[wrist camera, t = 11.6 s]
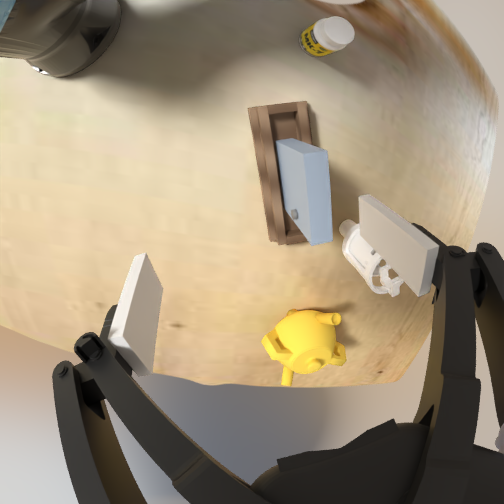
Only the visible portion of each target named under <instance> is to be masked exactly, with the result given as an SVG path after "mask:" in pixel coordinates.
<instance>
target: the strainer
mask: <svg viewBox="0 0 504 504" xmlns="http://www.w3.org/2000/svg"><path fill="white" fill-rule="evenodd" d="M339 232H340V234H341V235H342V236H343V237H344V240H343V244H342V251H343V254H344V256H345V258H346V259H347V260H348V261H349V262H350V263H351V264H352V265H353V266H354V267H355V268H356V270H357V271H358V272H359V273H360V275H361V276H362V277H363V278H364V279H365V281H366V283H367V285H368V286H369V287H370V288H371V290H372V291H373V292H375V293H377V294H386V293H389V294H390V295H391V296H392V297H394V296H396V295H398V294H399V292H400V285H401V284H402V283H403V282H404V281H403V280H402V278H401V277H400V276H398V277H396V278H394V279H392V280H391V279H390V278H389V275H388V270H389V269H392V268H391V267H390V265H389V264H388V263H387V262H386V265H385V266H383V267H381V266H380V265H379V264H380V261H381V260H383V258H382V257H381V256H380V255H379V254H378V253H377V252H376V251H375V250H374V249H373V248H372V247H371V246H370V245H369V244H368V243H367V242H366V241H365V240H364V239H363V238H362V237H361V236H360V223H358V224H356V223H355V222H354V221H352V220H350V219H347V220H345V221H343V222H342V223H341V225H340V227H339ZM379 275H380V283H381V284H382V286H380V287H378V286H374V285H373V283H372V277H376V276H379Z"/></svg>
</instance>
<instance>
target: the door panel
mask: <svg viewBox="0 0 504 504" xmlns="http://www.w3.org/2000/svg"><path fill="white" fill-rule="evenodd" d="M275 146H276V153H277V160H278V167H279V174H280V181H281V189H282V196H283V204H284V209H285V210H286V211H287V213H288V214H289V216H290V217H291V218H292V220H293V221H294V222H295V224H296V225H297V226H298V228H299V229H300V230H301V232H302V233H303V235H304V236H305V237H306V239H307V240H308V241H309V243H310V244H311V246H313V245H317V244H322V243H326V242H331V241H333V235H332V209H331V191H330V176H329V164H328V153H327V150H324V149H321V148H319V147H316V146H313V145H310V144H308V143H305V142H302V141H299V140H296V139H293V138H290V139H283V140H276V141H275Z"/></svg>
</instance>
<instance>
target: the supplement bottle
mask: <svg viewBox="0 0 504 504" xmlns="http://www.w3.org/2000/svg"><path fill="white" fill-rule="evenodd" d="M354 36H355V32H354V28H353V26H352V25H351V24H350V23H349V22H348V21H347V20H346V19H344V18H342V17H339V16H332V17H329V18H324V19H320V20H319V21H317V22H316V23H314V24H313V25H311V26H310V27H308V28H307V29H305V30H304V31H303V32H302V33H301V35H300V37H299V43H300V46H301V48H302V49H303V50H304V51H305V52H306V53H307V54H309V55H311V56H314V57H321V56H325V55H327V54H330V53H333V52H336V51H339V50H341V49H343V48H344V47H346V45H347V44H349V43H351V42H352V41H353V39H354Z"/></svg>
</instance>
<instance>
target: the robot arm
mask: <svg viewBox="0 0 504 504" xmlns="http://www.w3.org/2000/svg"><path fill="white" fill-rule="evenodd" d="M120 20H121V7H120V4H119V1H118V0H0V57H7V58H18V59H25V60H26V61H27V62H28V63H29V64H30V65H31V66H32V67H33V68H34V69H35V70H36V71H37V72H39V73H41V74H44V75H48V76H55V77H63V76H68V75H72V74H74V73H77V72H79V71H81V70H83V69H84V68H86V67H88V66H89V65H90V64H92V63H93V62H94V61H95V60H97V59H98V58H99V57H100V56H101V55H102V54H103V53H104V51H105V50H106V49H107V48H108V46H109V45H110V43H111V42H112V40H113V39H114V37H115V35H116V33H117V30H118V28H119V25H120ZM359 223H360V236H361V237H362V238H363V239H364V240H365V241H366V242H367V243H368V244H369V245H370V246H371V247H372V248H373V249H374V250H375V251H376V252H377V253H378V254H379V255H380V256H381V257H382V258H383V259H384V260H385V261H386V262H387V263H388V264H389V265H390V267H391V268H392V269H393V270H394V271H395V272H396V273H397V274H398V275H399V276H400V277H401V278H402V280H403V281H404V282H405V283H406V284H407V285H408V286H409V287H410V288H411V290H412V291H413V292H414V293H415V294H416V295H417V296H418V297H420V296H422V295H425V294H427V293H429V292H430V288H431V284H432V283H433V284H434V285H435V286H436V290H435V293H434V297H433V301H432V304H434V314H433V326H432V336H431V344H430V352H429V358H428V365H427V371H426V376H425V382H424V387H423V392H422V396H421V401H420V405H419V408H418V411H417V414H416V416H415V418H414V421H413V423H397V424H396V423H395V420H394V419H391V420H389V421H387V422H385V423H383V424H381V425H378V426H376V427H374V428H372V429H369V430H367V431H366V432H364V433H363V434H361V435H360V436H358V437H357V438H356V439H354V440H353V441H351V442H350V443H348V444H347V445H345V446H343V447H342V448H339V449H332V450H321V451H308V452H303V453H301V454H296V455H292V456H288V457H284V458H281V459H277V463H278V465H276V466H274V467H272V468H270V469H269V470H267V471H266V472H264V473H263V474H262V475H260V476H259V477H258V478H257V479H256V480H255V482H254V483H253V484H252V485H249V484H248V483H246V482H245V481H244V480H242V479H241V478H239V477H238V476H236V475H235V474H233V473H232V472H231V471H229V470H228V469H227V468H226V467H224V466H223V465H221V464H220V463H219V462H218V461H216V460H215V459H214V458H213V457H212V456H211V455H209V454H208V453H207V452H206V451H205V450H203V449H202V448H201V447H200V446H199V445H198V444H197V443H195V442H194V441H193V440H192V439H191V438H190V437H189V436H188V435H187V434H186V433H185V432H183V431H182V430H181V429H180V428H179V427H178V426H177V425H176V424H175V423H174V422H173V421H172V420H171V419H170V418H169V417H168V416H167V415H166V414H165V413H164V412H163V411H162V410H161V409H160V408H159V407H158V406H157V405H156V404H155V402H154V401H153V400H152V399H151V398H150V397H149V396H148V395H147V394H146V393H145V392H144V390H143V389H142V388H141V387H140V386H139V385H138V383H136V381H135V380H134V379H133V378H132V377H131V375H132V370H133V371H134V372H135V373H136V374H137V375H138V376H145V375H152V373H153V362H154V353H155V344H156V336H157V328H158V320H159V313H160V306H161V300H162V293H163V287H162V285H161V283H160V281H159V279H158V277H157V275H156V273H155V271H154V268H153V266H152V264H151V262H150V260H149V258H148V256H147V253H143V254H139V255H136V256H135V257H134V260H133V262H132V265H131V268H130V270H129V273H128V276H127V279H126V282H125V284H124V287H123V290H122V293H121V296H120V299H119V302H118V304H117V305H113V306H112V307H111V309H110V310H109V311H108V313H107V315H106V318H105V322H104V325H103V328H102V331H101V334H100V337H98V336H97V335H96V334H95V333H94V332H89V333H85V334H84V335H82V336H81V337H80V338H79V339H78V340H77V342H76V343H75V346H74V351H75V353H76V354H77V355H78V356H79V357H80V359H81V360H82V361H83V362H82V363H80V364H78V365H76V366H74V365H73V364H72V363H71V362H69V361H62V362H60V363H59V364H58V365H57V366H56V367H55V369H54V371H53V376H52V378H53V389H54V399H55V407H56V414H57V420H58V427H59V432H60V438H61V442H62V447H63V452H64V456H65V459H66V464H67V468H68V471H69V474H70V478H71V482H72V485H73V488H74V491H75V494H76V497H77V500H78V503H79V504H147V502H146V501H145V499H144V497H143V495H142V493H141V491H140V489H139V487H138V485H137V483H136V481H135V479H134V477H133V475H132V472H131V471H130V468H129V466H128V464H127V461H126V459H125V457H124V454H123V452H122V449H121V447H120V444H119V442H118V439H117V437H116V434H115V431H114V428H113V426H112V423H111V420H110V417H109V414H108V411H107V408H106V405H105V401H104V399H107V400H108V402H109V403H110V405H111V406H112V408H113V409H114V411H115V412H116V414H117V415H118V416H119V418H120V419H121V420H122V422H123V423H124V425H125V426H126V427H127V429H128V430H129V431H130V433H131V434H132V435H133V436H134V438H135V439H136V440H137V441H138V442H139V444H140V445H141V446H142V448H143V449H144V450H145V451H146V452H147V453H148V455H149V456H150V457H151V458H152V459H153V460H154V461H155V463H156V464H157V465H158V466H159V467H160V468H161V469H162V470H163V471H164V472H165V473H166V474H167V475H168V477H169V478H170V479H171V480H172V485H173V486H174V488H175V489H176V490H177V491H178V492H179V493H180V494H181V495H182V496H183V497H184V498H185V499H186V500H187V501H188V502H189V503H190V504H504V260H503V259H502V257H501V256H500V254H499V252H498V251H497V249H496V248H495V247H494V246H492V245H491V244H488V243H484V242H483V243H479V244H478V245H477V248H476V252H469V253H467V252H466V251H465V250H464V249H463V248H461V247H458V246H446V245H445V244H444V243H443V242H441V241H440V240H439V239H438V238H436V237H435V236H434V235H432V234H431V233H430V232H428V231H427V230H426V229H425V228H423V227H422V226H420V225H417V224H415V223H412V224H411V223H409V222H408V221H407V220H405V219H404V218H403V217H401V216H400V215H399V214H397V213H396V212H394V211H393V210H392V209H390V208H389V207H387V206H386V205H384V204H383V203H382V202H380V201H379V200H377V199H376V198H374V197H373V196H371V195H370V194H366V195H362V196H359ZM475 318H476V320H477V324H478V327H479V331H480V334H481V338H482V341H483V345H484V349H485V353H486V357H487V362H488V366H489V371H490V376H491V382H492V387H493V393H494V400H495V407H496V412H497V418H498V422H499V426H500V431H499V436H498V437H497V438H496V441H495V445H496V447H497V448H498V449H499V452H497V451H493V450H490V449H487V448H484V447H481V446H478V445H475V444H473V443H474V438H475V433H476V426H477V420H478V412H479V402H480V391H481V382H480V379H476V377H475V370H476V368H475V367H476V325H475Z"/></svg>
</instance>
